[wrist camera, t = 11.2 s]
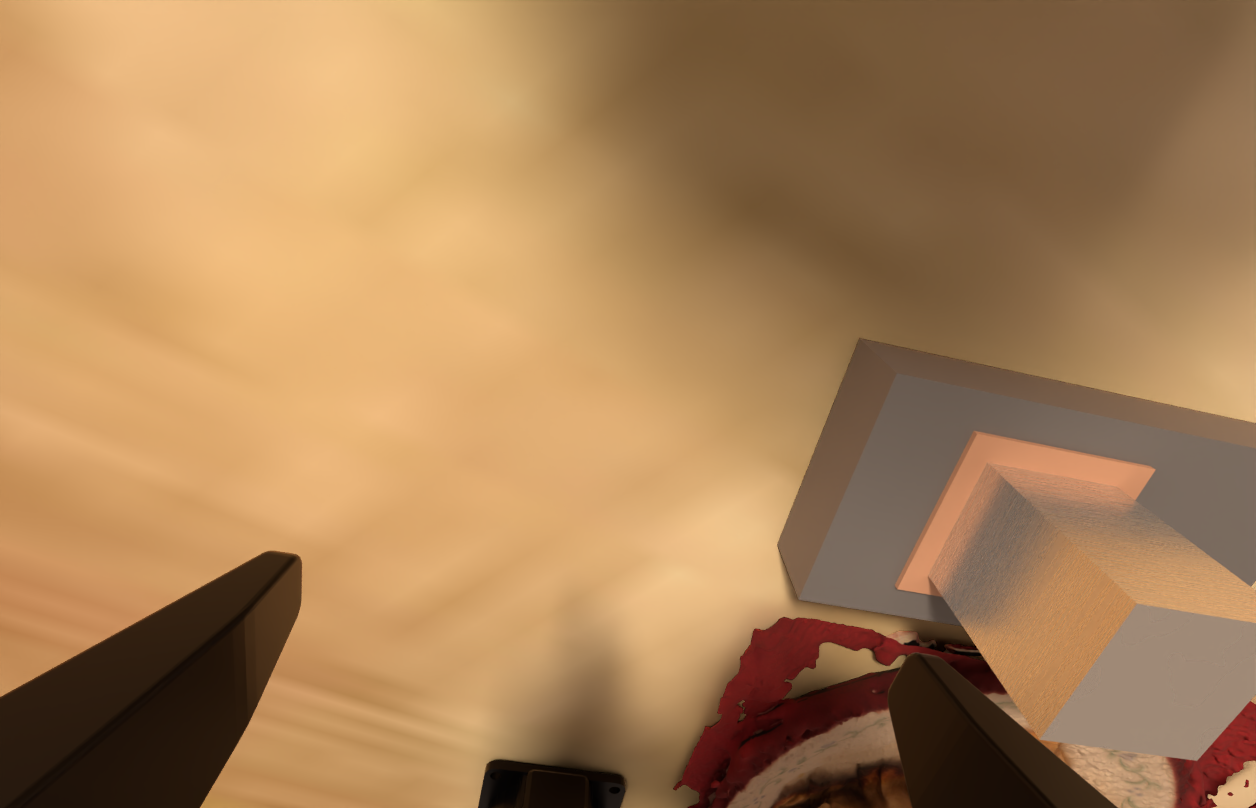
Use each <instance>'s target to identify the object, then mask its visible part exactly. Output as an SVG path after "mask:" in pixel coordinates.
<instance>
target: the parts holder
mask: <svg viewBox="0 0 1256 808" xmlns="http://www.w3.org/2000/svg"><path fill="white" fill-rule="evenodd" d="M987 462H988V463H993V464H998V465H1004V466H1009V467H1015V468H1020V469H1025V470H1031V471H1036V472H1041V473H1047V474H1052V475H1057V476H1063V477H1068V478H1074V479H1079V480H1084V481H1090V482H1095V483H1100V484H1106V485H1111V486H1116V487H1118V488H1119V489H1121V490H1122V491H1123V492H1125V493H1126V494H1127V495H1129V496H1130V497H1131V498H1133V499H1134V500H1135V501H1137V502H1138V503H1139V504H1141V505H1142V506H1143V507H1145V508H1146V509H1147V510H1149V511H1150V512H1151V513H1153V514H1154V515H1155V516H1157V517H1158V518H1159V519H1161V520H1162V521H1163V522H1165V523H1166V524H1167V525H1169V526H1170V527H1172V528H1173V529H1174V530H1176V531H1177V532H1178V533H1180V534H1181V535H1182V536H1184V537H1185V538H1186V539H1188V540H1189V541H1190V542H1192V543H1193V544H1194V545H1196V546H1197V547H1198V548H1200V549H1201V550H1202V551H1204V552H1205V553H1206V554H1208V555H1209V556H1210V557H1212V558H1213V559H1214V560H1216V561H1217V562H1218V563H1220V564H1221V565H1222V566H1224V567H1225V568H1226V569H1228V570H1229V571H1230V572H1232V573H1233V574H1234V575H1236V576H1237V577H1238V578H1240V579H1241V580H1242V581H1244V582H1245V583H1246V584H1248V585H1249V586H1250V587H1251V586H1252V585H1253V583H1254V582H1255V581H1256V423H1251V422H1247V421H1242V420H1237V419H1233V418H1228V417H1223V416H1219V415H1214V414H1209V413H1205V412H1200V411H1195V410H1191V409H1186V408H1181V407H1177V406H1172V405H1168V404H1163V403H1158V402H1154V401H1149V400H1144V399H1140V398H1135V397H1130V396H1126V395H1121V394H1116V393H1112V392H1107V391H1102V390H1098V389H1093V388H1088V387H1084V386H1079V385H1074V384H1070V383H1065V382H1060V381H1056V380H1051V379H1046V378H1042V377H1037V376H1032V375H1028V374H1023V373H1018V372H1014V371H1009V370H1004V369H1000V368H995V367H990V366H986V365H981V364H976V363H972V362H967V361H963V360H958V359H953V358H949V357H944V356H939V355H935V354H930V353H925V352H921V351H916V350H911V349H907V348H902V347H897V346H893V345H888V344H883V343H879V342H874V341H869V340H865V339H860V338H859V341H858V343H857V346H856V348H855V351H854V353H853V356H852V358H851V361H850V363H849V366H848V368H847V371H846V373H845V376H844V378H843V381H842V383H841V386H840V388H839V391H838V393H837V396H836V398H835V401H834V403H833V406H832V408H831V411H830V413H829V416H828V418H827V421H826V424H825V426H824V429H823V431H822V434H821V436H820V439H819V441H818V444H817V446H816V449H815V451H814V454H813V456H812V459H811V461H810V464H809V466H808V469H807V471H806V474H805V476H804V479H803V481H802V484H801V486H800V489H799V491H798V494H797V496H796V499H795V501H794V504H793V506H792V509H791V511H790V514H789V516H788V519H787V521H786V524H785V526H784V529H783V532H782V534H781V537H780V539H779V542H778V544H777V545H778V547H779V550H780V553H781V555H782V558H783V561H784V563H785V566H786V568H787V571H788V574H789V576H790V579H791V582H792V584H793V587H794V589H795V592H796V595H797V597H798V600H803V601H809V602H816V603H822V604H828V605H834V606H840V607H846V608H853V609H859V610H865V611H871V612H877V613H884V614H890V615H896V616H902V617H908V618H915V619H921V620H927V621H933V622H939V623H945V624H952V625H958V626H962V625H961V623H960V622H959V620H958V619H957V617H956V616H955V614H954V613H953V611H952V610H951V608H950V607H949V606H948V604H947V603H946V601H945V600H944V598H943V597H942V595H941V594H940V592H939V591H938V589H937V588H936V586H935V585H934V583H933V582H932V580H931V579H930V578H929V576H928V574H929V573H930V571H931V569H932V567H933V565H934V563H935V561H936V559H937V557H938V555H939V553H940V551H941V550H942V548H943V546H944V544H945V542H946V540H947V538H948V536H949V534H950V532H951V530H952V529H953V527H954V525H955V523H956V521H957V519H958V517H959V515H960V513H961V511H962V509H963V508H964V506H965V504H966V502H967V500H968V498H969V496H970V494H971V492H972V490H973V488H974V487H975V485H976V483H977V481H978V479H979V477H980V475H981V473H982V471H983V469H984V467H985V466H986V464H987Z"/></svg>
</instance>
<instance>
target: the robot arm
mask: <svg viewBox="0 0 1256 808" xmlns="http://www.w3.org/2000/svg"><path fill="white" fill-rule="evenodd" d="M301 594H302V561H301V558H300V557H299V556H298V555H296V554H292V553H285V552H279V551H267V552H264V553H262V554H260V555H258V556H257V557H255V558H253V559H251V560H249V561H247V562H246V563H244V564H242V565H240V566H238V567H237V568H235V569H233V570H231V571H229V572H227V573H226V574H224V575H222V576H220V577H218V578H216V579H215V580H213V581H211V582H209V583H207V584H206V585H204V586H202V587H200V588H198V589H196V590H195V591H193V592H191V593H189V594H187V595H185V596H184V597H182V598H180V599H178V600H176V601H175V602H173V603H171V604H169V605H167V606H165V607H164V608H162V609H160V610H158V611H156V612H154V613H153V614H151V615H149V616H147V617H145V618H144V619H142V620H140V621H138V622H136V623H134V624H133V625H131V626H129V627H127V628H125V629H123V630H122V631H120V632H118V633H116V634H114V635H113V636H111V637H109V638H107V639H105V640H103V641H102V642H100V643H98V644H96V645H94V646H92V647H91V648H89V649H87V650H85V651H83V652H82V653H80V654H78V655H76V656H74V657H72V658H71V659H69V660H67V661H65V662H63V663H61V664H60V665H58V666H56V667H54V668H52V669H51V670H49V671H47V672H45V673H43V674H41V675H40V676H38V677H36V678H34V679H32V680H30V681H29V682H27V683H25V684H23V685H21V686H20V687H18V688H16V689H14V690H12V691H10V692H9V693H7V694H5V695H3V696H1V697H0V808H200V807H201V805H202V803H203V802H204V800H205V798H206V796H207V795H208V793H209V791H210V790H211V788H212V786H213V785H214V783H215V781H216V779H217V778H218V776H219V774H220V773H221V771H222V769H223V768H224V766H225V764H226V762H227V761H228V759H229V757H230V756H231V754H232V752H233V751H234V749H235V747H236V745H237V744H238V742H239V740H240V738H241V737H242V735H243V733H244V731H245V729H246V727H247V726H248V724H249V722H250V720H251V717H252V715H253V713H254V711H255V709H256V707H257V705H258V703H259V700H260V698H261V696H262V694H263V692H264V689H265V687H266V685H267V683H268V681H269V678H270V676H271V674H272V672H273V670H274V667H275V665H276V663H277V661H278V659H279V656H280V654H281V652H282V650H283V647H284V645H285V643H286V641H287V639H288V636H289V634H290V632H291V630H292V628H293V625H294V623H295V621H296V619H297V616H298V613H299V610H300V606H301ZM887 699H888V708H889V713H890V717H891V721H892V726H893V730H894V734H895V739H896V743H897V747H898V752H899V756H900V760H901V765H902V769H903V773H904V778H905V782H906V786H907V791H908V794H909V798H910V802H911V806H912V808H1118V807H1117V806H1115V805H1114V804H1113V803H1112V802H1111V801H1109V800H1108V799H1107V798H1106V797H1105V796H1104V795H1102V794H1101V793H1100V792H1099V791H1098V790H1096V789H1095V788H1094V787H1093V786H1092V785H1091V784H1089V783H1088V782H1087V781H1086V780H1085V779H1083V778H1082V777H1081V776H1080V775H1079V774H1078V773H1076V772H1075V771H1074V770H1073V769H1072V768H1070V767H1069V766H1068V765H1067V764H1066V763H1065V762H1063V761H1062V760H1061V759H1060V758H1059V757H1057V756H1056V755H1055V754H1054V753H1053V752H1052V751H1050V750H1049V749H1048V748H1047V747H1046V746H1044V745H1043V744H1042V743H1041V742H1040V741H1039V740H1037V739H1036V738H1035V737H1034V736H1033V735H1031V734H1030V733H1029V732H1028V731H1027V730H1026V729H1024V728H1023V727H1022V726H1021V725H1020V724H1018V723H1017V722H1016V721H1015V720H1014V719H1013V718H1011V717H1010V716H1009V715H1008V714H1007V713H1005V712H1004V711H1003V710H1002V709H1001V708H1000V707H998V706H997V705H996V704H995V703H994V702H993V701H991V700H990V699H989V698H988V697H987V696H985V695H984V694H983V693H982V692H981V691H980V690H978V689H977V688H976V687H975V686H974V685H972V684H971V683H970V682H969V681H968V680H967V679H965V678H964V677H963V676H962V675H961V674H959V673H958V672H957V671H956V670H955V669H954V668H952V667H951V666H950V665H949V664H948V663H946V662H945V661H944V660H943V659H942V658H940V657H938V656H935V655H929V654H923V653H911V654H910V655H908V656H907V658H906V659H905V661H904V663H903V664H902V666H901V668H900V670H899V672H898V673H897V675H896V677H895V679H894V681H893V682H892V684H891V686H890V688H889V691H888V698H887ZM624 793H625V780H624V778H623V777H621V776H619V775H613V774H605V773H596V772H588V771H580V770H572V769H564V768H556V767H548V766H540V765H532V764H523V763H515V762H507V761H499V760H494V761H491V762H489V763H488V764H487V766H486V770H485V775H484V780H483V785H482V790H481V795H480V800H479V806H478V808H620V805H621V802H622V799H623V796H624Z"/></svg>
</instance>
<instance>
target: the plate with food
mask: <svg viewBox="0 0 1256 808" xmlns="http://www.w3.org/2000/svg"><path fill="white" fill-rule="evenodd" d="M825 642H832V643H835V644H839V645H842V646H844V647H846V648H850V649H852V650H854V651H858V650H860V649H862V648H868V649H871V650H873V651H874V652H875V656H876V660H877V661H878V662H880V663H882V664H884V665H886V666H890V665H891V664H892V663H893V662H894V661H895V659H896V658H897V657H898V656H900V655H910V654H911V653H923V654H929V655H935V656H938V657H940V658H942V659H943V660H944V661H945V662H946V663H948V664H949V665H950V666H951V667H952V668H954V669H955V670H956V671H957V672H958V673H959V674H961V675H962V676H963V677H964V678H965V679H967V680H968V681H969V682H970V683H971V684H972V685H974V686H975V687H976V688H977V689H978V690H980V691H981V692H982V693H983V694H984V695H985V696H987V697H988V698H989V699H990V700H991V701H993V702H994V703H995V704H996V705H997V706H998V707H1000V708H1001V709H1002V710H1003V711H1004V712H1005V713H1007V714H1008V715H1009V716H1010V717H1011V718H1013V719H1014V720H1015V721H1016V722H1017V723H1018V724H1020V725H1021V726H1022V727H1023V728H1024V729H1026V730H1027V731H1028V732H1029V733H1030V734H1031V735H1033V736H1034V737H1035V738H1036V739H1037V740H1039V738H1038V737H1037V735H1036V734H1035V732H1034V731H1033V729H1032V728H1031V726H1030V725H1029V723H1028V722H1027V721H1026V719H1025V718H1024V716H1023V715H1022V713H1021V712H1020V710H1019V709H1018V707H1017V706H1016V704H1015V703H1014V701H1013V700H1012V698H1011V697H1010V695H1009V694H1008V693H1007V691H1006V690H1005V688H1004V687H1003V685H1002V684H1001V682H1000V681H999V679H998V678H997V676H996V675H995V673H994V672H993V670H992V669H991V667H990V666H989V664H988V663H987V662H986V661H981V660H978V659H973V658H970V657H968V656H982V654H981V653H980V651H979V650H978V648H974V647H972V646H967V647H966V646H961V645H960V644H956V645H955V644H948V645H945V648H946V650H945V651H944V652H940V651H936V650H934V648H935V647H936V646H937V644H936V643H935V640H931V641H929V642H927V643H926V642H922V641H920V640H919V635H918V633H917V632H914V631H897V632H895V633H893V634H891V635H889V636H884V635H882V634H880V633H877V632H875V631H874V630H871V629H864V628H859V627H854V626H846V625H844V624H836V623H830V622H826V621H821V620H818V619H807V618H796V619H795V620H792V619H789V618H786V617H783V618H781V619H779V621H778V622H777V623H776V624H774V625H773V626H772V627H770V628H769V629H766V630H760V629H754V631H753V636H752V640H751V645H749V647H748V649H747V650H746V651H745V653H744V654H743V656H741V657H740V660H741V665H740V670H739V673H738V674H737V675H736V676H735V677H734V678H733V679H732V681H730V682H729V683H728V684H727V686H726V689H725V692H724V695H723V697H722V698H721V700H720V705H719V709H718V712H717V713H718V714H722V717H721V719H720V721H719V722H718V723H717V724H716V725H714V726H713V727H712V728H711V727H707V726H705V729H704V732H703V734H702V736H701V737H700V741H699V742H698V743H697V746H696V747H695V748H694V751H693V753H692V756H691V758H690V760H689V764H688V765H687V766H686V769H685V772H684V774H683V778H682V781H680V782H678V783H677V784H676V786H675V787H674V790H677V789H678V788H679V787H681V786H682V785H687V786H688V787H690V788H691V789H693V790H695V791H697V792H699V793H700V795H699V800H700V801H699V803H698V804H696V805H693V806H689V807H688V808H912V806H911V802H910V798H909V794H908V791H907V786H906V782H905V778H904V773H903V769H902V765H901V760H900V756H899V752H898V747H897V743H896V739H895V734H894V730H893V726H892V721H891V717H890V713H889V708H888V699H887V698H888V691H889V688H890V686H891V684H892V682H893V681H894V679H895V677H896V675H897V673H898V672H899V670H900V669H895V670H889V671H882V672H875V673H868V674H865V675H863V676H860V677H858V678H855V679H851V680H849V681H846V682H842V683H839V684H836V685H832V686H829V687H826V688H824V689H821V690H816V691H812V692H809V693H807V694H805V695H802V696H801V697H799V698H796V699H789V698H788V699H785V700H782V699H783V698H784V697H785V696H786V694H787V693H788V692H789V691H790V690H791V689H792V684H791V683H790V682H784V680H785V679H789V680H793V679H794V678H795V677H796V676H797V675H798V674H799V672H801V671H802V670H803V669H804V668H805V667H808V668H811V669H814V668H815V667H816V659H818V657H819V646H820V645H821V644H822V643H825ZM964 655H965V656H964ZM742 700H744V701H745V702H743V704H742V706H743V707H745V710H743V708H742V707H741V706H739V705H737V704H738V703H739V702H741V701H742ZM743 711H744V714H746V716H745V718H744V719H743V720H742V721H738V719H739V717H740V714H741V713H743ZM1039 741H1040V742H1041V743H1042V744H1043V745H1044V746H1046V747H1047V748H1048V749H1049V750H1050V751H1052V752H1053V753H1054V754H1055V755H1056V756H1057V757H1059V758H1060V759H1061V760H1062V761H1063V762H1065V763H1066V764H1067V765H1068V766H1069V767H1070V768H1072V769H1073V770H1074V771H1075V772H1076V773H1078V774H1079V775H1080V776H1081V777H1082V778H1083V779H1085V780H1086V781H1087V782H1088V783H1089V784H1091V785H1092V786H1093V787H1094V788H1095V789H1096V790H1098V791H1099V792H1100V793H1101V794H1102V795H1104V796H1105V797H1106V798H1107V799H1108V800H1109V801H1111V802H1112V803H1113V804H1114V805H1115V806H1117V807H1118V808H1212V807H1216V806H1217V805H1216V804H1215V803H1214V802H1213V800H1212V799H1208V797H1207V795H1208V794H1211V795H1213V796H1216V795H1217V793H1218V786H1219V785H1224V784H1226V779H1227V777H1228V776H1232V775H1233V773H1236V772H1239V771H1240V770H1242V769H1243V763H1244V762H1246V761H1253V760H1254V761H1256V704H1254V703H1252V702H1251V701H1250V702H1249V703H1248V704H1247V705H1246V706H1245V707H1244V708H1243V710H1242V711H1241V712H1240V713H1239V714H1238V715H1237V716H1236V717H1235V719H1234V720H1233V721H1232V722H1231V723H1230V724H1229V725H1228V726H1227V728H1226V729H1225V730H1224V731H1223V732H1222V733H1221V734H1220V736H1219V737H1218V738H1217V739H1216V740H1215V741H1214V742H1213V743H1212V745H1211V746H1210V747H1209V748H1208V749H1207V750H1206V751H1205V752H1204V754H1203V755H1202V756H1201V757H1200V758H1199V759H1198V760H1197V761H1195V760H1187V759H1180V758H1172V757H1165V756H1158V755H1150V754H1143V753H1135V752H1128V751H1120V750H1113V749H1105V748H1098V747H1090V746H1083V745H1075V744H1068V743H1061V742H1053V741H1046V740H1039ZM1245 783H1246V784H1245V786H1244V787H1248V786H1249V781H1248V780H1246V782H1245ZM1228 795H1229V796H1232V795H1233V794H1232V793H1231V792H1229V793H1228ZM1249 808H1256V803H1255V804H1254V805H1253V806H1250V807H1249Z"/></svg>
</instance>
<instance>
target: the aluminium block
mask: <svg viewBox="0 0 1256 808" xmlns="http://www.w3.org/2000/svg"><path fill="white" fill-rule="evenodd" d="M928 576H929V578H930V579H931V580H932V582H933V583H934V585H935V586H936V588H937V589H938V591H939V592H940V594H941V595H942V597H943V598H944V600H945V601H946V603H947V604H948V606H949V607H950V608H951V610H952V611H953V613H954V614H955V616H956V617H957V619H958V620H959V622H960V623H961V625H962V626H963V628H964V629H965V631H966V632H967V634H968V635H969V636H970V638H971V639H972V641H973V642H974V644H975V645H976V647H977V648H978V650H979V651H980V653H981V654H982V656H983V657H984V659H985V660H986V662H987V663H988V664H989V666H990V667H991V669H992V670H993V672H994V673H995V675H996V676H997V678H998V679H999V681H1000V682H1001V684H1002V685H1003V687H1004V688H1005V690H1006V691H1007V693H1008V694H1009V695H1010V697H1011V698H1012V700H1013V701H1014V703H1015V704H1016V706H1017V707H1018V709H1019V710H1020V712H1021V713H1022V715H1023V716H1024V718H1025V719H1026V721H1027V722H1028V723H1029V725H1030V726H1031V728H1032V729H1033V731H1034V732H1035V734H1036V735H1037V737H1038V738H1039V740H1046V741H1053V742H1061V743H1068V744H1075V745H1083V746H1090V747H1098V748H1105V749H1113V750H1120V751H1128V752H1135V753H1143V754H1150V755H1158V756H1165V757H1172V758H1180V759H1187V760H1195V761H1197V760H1198V759H1199V758H1200V757H1201V756H1202V755H1203V754H1204V752H1205V751H1206V750H1207V749H1208V748H1209V747H1210V746H1211V745H1212V743H1213V742H1214V741H1215V740H1216V739H1217V738H1218V737H1219V736H1220V734H1221V733H1222V732H1223V731H1224V730H1225V729H1226V728H1227V726H1228V725H1229V724H1230V723H1231V722H1232V721H1233V720H1234V719H1235V717H1236V716H1237V715H1238V714H1239V713H1240V712H1241V711H1242V710H1243V708H1244V707H1245V706H1246V705H1247V704H1248V703H1249V702H1250V701H1251V699H1252V698H1253V697H1254V696H1255V695H1256V590H1254V589H1253V588H1252V587H1250V586H1249V585H1248V584H1246V583H1245V582H1244V581H1242V580H1241V579H1240V578H1238V577H1237V576H1236V575H1234V574H1233V573H1232V572H1230V571H1229V570H1228V569H1226V568H1225V567H1224V566H1222V565H1221V564H1220V563H1218V562H1217V561H1216V560H1214V559H1213V558H1212V557H1210V556H1209V555H1208V554H1206V553H1205V552H1204V551H1202V550H1201V549H1200V548H1198V547H1197V546H1196V545H1194V544H1193V543H1192V542H1190V541H1189V540H1188V539H1186V538H1185V537H1184V536H1182V535H1181V534H1180V533H1178V532H1177V531H1176V530H1174V529H1173V528H1172V527H1170V526H1169V525H1167V524H1166V523H1165V522H1163V521H1162V520H1161V519H1159V518H1158V517H1157V516H1155V515H1154V514H1153V513H1151V512H1150V511H1149V510H1147V509H1146V508H1145V507H1143V506H1142V505H1141V504H1139V503H1138V502H1137V501H1135V500H1134V499H1133V498H1131V497H1130V496H1129V495H1127V494H1126V493H1125V492H1123V491H1122V490H1121V489H1119V488H1118V487H1116V486H1111V485H1106V484H1100V483H1095V482H1090V481H1084V480H1079V479H1074V478H1068V477H1063V476H1057V475H1052V474H1047V473H1041V472H1036V471H1031V470H1025V469H1020V468H1015V467H1009V466H1004V465H998V464H993V463H988V462H987V464H986V466H985V467H984V469H983V471H982V473H981V475H980V477H979V479H978V481H977V483H976V485H975V487H974V488H973V490H972V492H971V494H970V496H969V498H968V500H967V502H966V504H965V506H964V508H963V509H962V511H961V513H960V515H959V517H958V519H957V521H956V523H955V525H954V527H953V529H952V530H951V532H950V534H949V536H948V538H947V540H946V542H945V544H944V546H943V548H942V550H941V551H940V553H939V555H938V557H937V559H936V561H935V563H934V565H933V567H932V569H931V571H930V573H929V574H928Z"/></svg>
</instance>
